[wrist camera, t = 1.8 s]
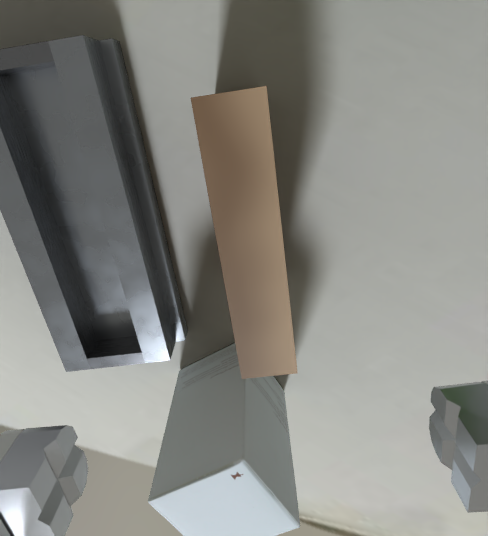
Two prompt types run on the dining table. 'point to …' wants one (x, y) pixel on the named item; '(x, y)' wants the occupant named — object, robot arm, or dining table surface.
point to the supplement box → (226, 454)
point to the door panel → (248, 226)
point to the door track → (85, 204)
